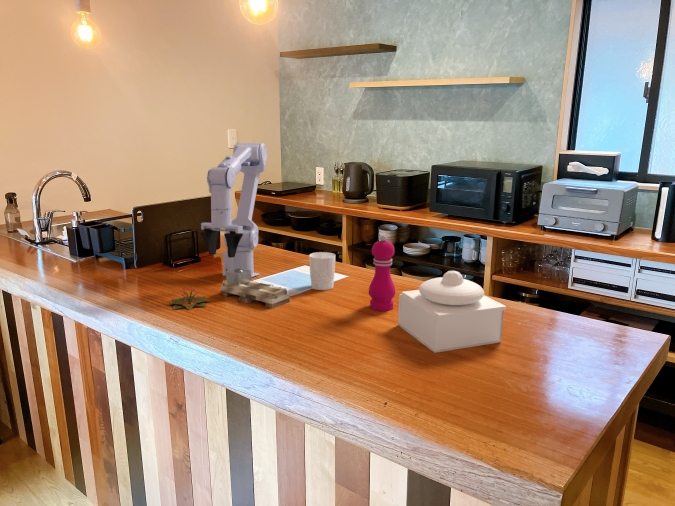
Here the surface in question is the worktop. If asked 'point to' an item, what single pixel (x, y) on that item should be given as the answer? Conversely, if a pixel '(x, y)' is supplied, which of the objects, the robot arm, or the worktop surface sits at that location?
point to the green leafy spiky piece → (188, 301)
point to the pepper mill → (382, 276)
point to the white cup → (322, 270)
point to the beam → (256, 293)
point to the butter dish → (450, 314)
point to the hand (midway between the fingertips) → (221, 255)
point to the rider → (238, 276)
